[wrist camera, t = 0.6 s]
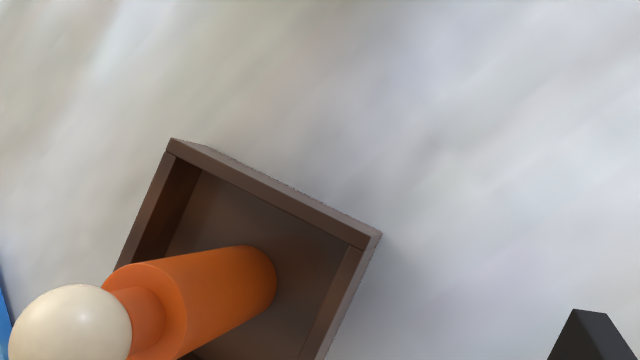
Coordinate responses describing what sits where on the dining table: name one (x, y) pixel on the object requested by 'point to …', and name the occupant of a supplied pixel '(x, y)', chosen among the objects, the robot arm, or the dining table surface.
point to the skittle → (148, 308)
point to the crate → (262, 233)
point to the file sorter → (4, 329)
